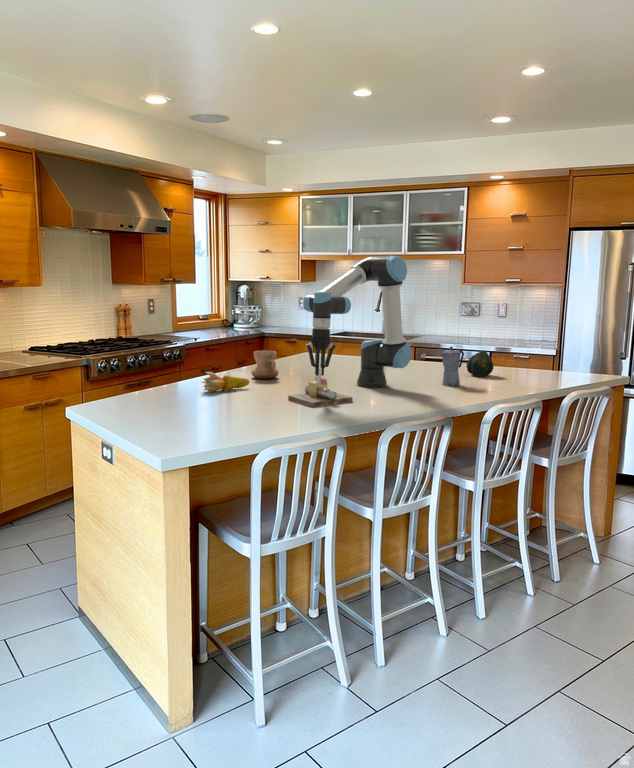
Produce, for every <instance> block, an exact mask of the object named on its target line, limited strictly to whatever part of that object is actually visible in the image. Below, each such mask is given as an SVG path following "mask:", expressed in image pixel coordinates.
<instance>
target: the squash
mask: <svg viewBox="0 0 634 768" xmlns="http://www.w3.org/2000/svg"><path fill="white" fill-rule="evenodd" d="M466 370H467V372H468V373H469V374H471V375H473V377H483V376H484V377H487V376H488V375H490V374H491V373H493V370H494V362H493V359H492V358H491V356H490V355H489V353H488V352H487V351H486V350H481V351H479V352H477V353H475V354H474V355H472V356H470V357H469V358H468V360H467V363H466Z"/></svg>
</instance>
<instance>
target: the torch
mask: <svg viewBox="0 0 634 768" xmlns="http://www.w3.org/2000/svg"><path fill="white" fill-rule="evenodd" d="M205 373H206V374H207V375H208V376H207V377H204V378H203V377H202V379H203V381H201V382H200V384H201V383H202V384H204V385H203V386H202V387H203V388H204V389H203V391H206V392H210V393H215V392H216V391H223V390H225V391H224V392H228V391H230V390H233V389H241V388H245V387H247V386H249V385H250V380H249V379H248V378H245V377H237V376H231V375H226V374H225V375H223V377H220V376H219V375H217V374H216V373H214V372H213V371H205ZM227 390H228V391H227Z"/></svg>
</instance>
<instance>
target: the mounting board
mask: <svg viewBox="0 0 634 768" xmlns="http://www.w3.org/2000/svg"><path fill="white" fill-rule="evenodd" d="M336 394H337V397H336V399H335V400H331V399H327V398H322V397H313V396H309V395H308V394H306V393H298V394H297V393H296V394H290V395H289V394H288V396H287V399H288V401H290V400H291V401H290V402H293V401H294V403H297V404H300V403H301V405H303V404H304V405H303V406H306V405H308V406H307V407H310V406H311V407H310V408H315V407H314V406H317V407H322V406H321V405H324V406H328V405H327V404H332V405H336V404H335V403H339V404H344V402H346V403H352V402H353V397H352V396H349V395H345V394H341V393H338V392H336Z"/></svg>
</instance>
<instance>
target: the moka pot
mask: <svg viewBox="0 0 634 768" xmlns="http://www.w3.org/2000/svg"><path fill="white" fill-rule="evenodd" d="M464 355H465V352H464V351H463V350H462V349H457V350H455V349H453V346H449V350H444V351H441V357H442V366H443V375H442V383H441V384H442V386H446V387H457V386H458V387H459V386H460V385H461V382H460V374H459V368H461V367H462V364H463V359H464V357H465V356H464Z"/></svg>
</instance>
